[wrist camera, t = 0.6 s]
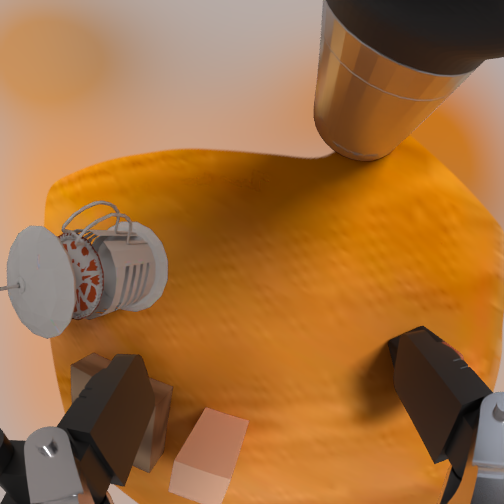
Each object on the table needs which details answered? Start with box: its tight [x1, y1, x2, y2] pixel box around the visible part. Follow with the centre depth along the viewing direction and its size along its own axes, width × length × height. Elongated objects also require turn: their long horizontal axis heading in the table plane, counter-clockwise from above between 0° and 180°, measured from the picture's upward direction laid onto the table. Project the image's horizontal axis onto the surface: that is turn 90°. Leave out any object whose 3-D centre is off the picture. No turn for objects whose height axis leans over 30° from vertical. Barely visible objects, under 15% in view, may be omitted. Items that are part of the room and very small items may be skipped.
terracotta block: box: [169, 407, 249, 504], centre depth 26 cm, size 5×5×10 cm
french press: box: [0, 201, 168, 339], centre depth 19 cm, size 10×12×25 cm
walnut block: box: [71, 353, 173, 473], centre depth 30 cm, size 11×11×5 cm
